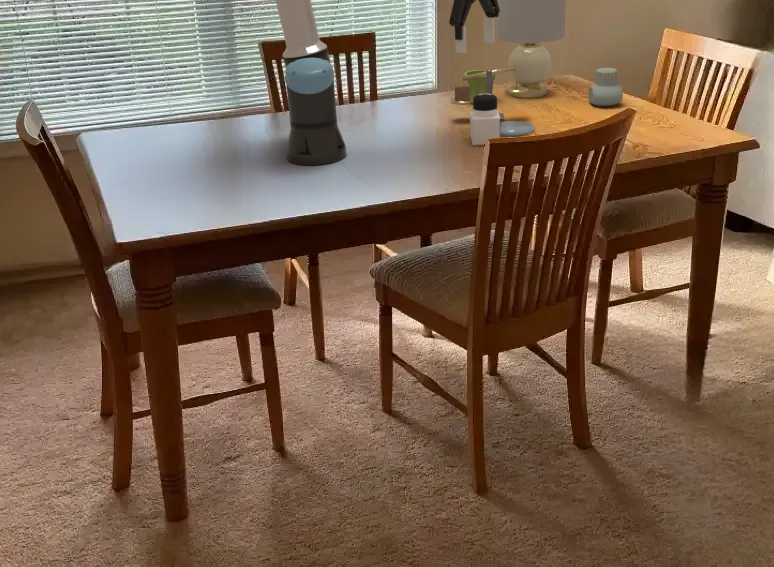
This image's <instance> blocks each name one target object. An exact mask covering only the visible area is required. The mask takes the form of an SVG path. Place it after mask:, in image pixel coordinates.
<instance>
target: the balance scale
mask: <svg viewBox="0 0 774 567" xmlns="http://www.w3.org/2000/svg"><path fill="white" fill-rule="evenodd" d="M486 70H487V71H486V72H482V73H477V74H472V75H467V76H465V75H463V76H461V79H460V80H461V83H455V85H454V97H453V98H451V99H450V104H453V105H457V106H458V105H459V106H461V105H462V106H463V105H470V104H473V98H471V97H470V83H468V82H467V83H464V82H465V81H467V80H470V79H475V78H480V77H485V76H486V94H493V90H492V75H495V74H496V75H498V74H499V75H500V74H502V73H503V74H505V73H510V72H509V71H514V70H516V81H515V83H516V86H513V87H511V86H508V87H505V88H504V93H506V94H511V95H512V94H523V93H527V92H528V88H527V87H522V86H517V74H518V68H517V66H511V67H508V66H507V67H502V68H497V69H493V70H492V69H491V68H490V69H489V68H488V69H486ZM496 75H495V76H496ZM498 113H499V112H498ZM499 116H500V122H504V121H505V116H504V112H503V113H499Z"/></svg>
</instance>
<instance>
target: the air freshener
mask: <svg viewBox="0 0 774 567" xmlns="http://www.w3.org/2000/svg"><path fill="white" fill-rule="evenodd" d="M617 79H618V70H617V69H616V68H614V67H599V68H597V69H596V70H595V83H593V84H592V85H590V86H589V87H588V91H587V96H588V100H589V102H590V104H592V105H594V106H597V107H612V106H615V105H617V104H620V102H622V100H623V97H624V94H623V88H622V86H621V85H620V84H618V83H617Z"/></svg>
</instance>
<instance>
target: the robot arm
mask: <svg viewBox="0 0 774 567" xmlns="http://www.w3.org/2000/svg"><path fill="white" fill-rule="evenodd" d="M476 1H477V0H453V4H452V8H451V13H450V17H449V22H448V23H449V24H448V25H449V26H451V27H454V37H455V38H454V39H455V41H454V42H455V53H457V54H466V53H467V26H465V22H466V21H467V17H468V15H469V13H470V10H471V7H472V5H473V4H474V3H475V2H476ZM478 3H479V4H480V7H481V9H482V10H483V12H484V14H485V17H483V22H484V23H483V43H484V44H492V45H493V44H495V18H497V17H498V16H499V12H500V9H499V5H498V1H497V0H478ZM275 4H276V9H277V12H278V16H279V21H280V25H281V29H282V33H283V37H284V41H285V42H284V43H285V46H286V48H285V50H284V51H283V53H282V58H283V62H284V66H285V69H284V70H285V74H284V81H285V85H286V93H287V103H288V104H287V105H288V114H289V116H288V117H289V123H290V129H289V134H288V139H287V143H286V144H287V145H286V149H285V154H286V160H287V161H288V162H289V161H290V162H289V163H291V162H292V164H295V165H300V166H317V165H318V166H320V164H321V165H327V164H331V162H332V163H335V162H338V161H341V160H343V159H344V158H345V157H346V156H347V146H346V143H345V141H344V138H343V135H342V132H341V131H340V128H339V126H338V117H337V116H338V115H337V107H336V106H337V104H336V103H337V102H336V93H335V92H336V91H335V90H336V89H335V72H334V67H333V65H332V63H331V59H330V54H329V50H328V46H327V44H326V43H324V42H323V41H321V39H320V37H319V32H318V27H317V23H316V18H315V15H314V13H315V12H314V9H313V5H312V0H275ZM326 163H327V164H326Z"/></svg>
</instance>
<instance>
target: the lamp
mask: <svg viewBox="0 0 774 567" xmlns="http://www.w3.org/2000/svg"><path fill="white" fill-rule="evenodd" d="M497 1H498V5H499V9H500V12H499V16H498V17H496V39H498V40H499V41H503V42H507V43H514V44H515V43H518V44H519V45H518V46H517V47H515V48H514V49H513V51H511V53H510V56H509V59H508V64H507V65H508V66H507V67H511V66H517V68H518V74H517V86H522V87H527V88H528V92H527V93H523V94H511V96H512V95H513V97H516V98H519V97H521V99H534V97H538V98H541V97H540V96H543V97H545V96H546V94H547V95H548V84H547V83H546V82H544V81H545V80H546V79H547V77H548V76H549V75H550V72H551V70H552V64H553V63H552V56H551V54H550V52H549V51H548V49H547V48H546V47H545V46H544V45H541V43H547V42H554V41H558V40H561V39H563V38H564V37H565V30H566V29H565V27H566V9H567V8H566V5H567V0H497ZM508 73H509V74H510V77H512V79H513V80H514V83H512V84H511V86H510V87H513V86H516V70H514V71H509V72H508ZM544 95H545V96H544Z"/></svg>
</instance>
